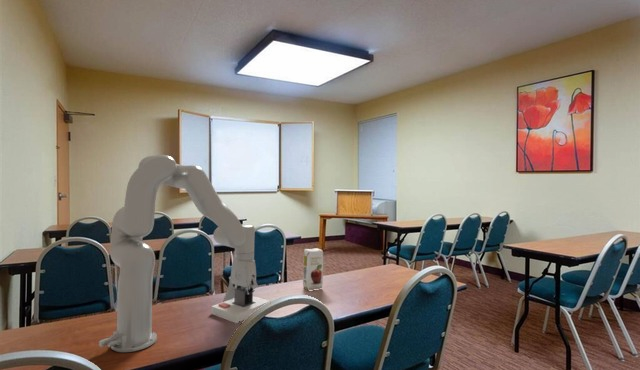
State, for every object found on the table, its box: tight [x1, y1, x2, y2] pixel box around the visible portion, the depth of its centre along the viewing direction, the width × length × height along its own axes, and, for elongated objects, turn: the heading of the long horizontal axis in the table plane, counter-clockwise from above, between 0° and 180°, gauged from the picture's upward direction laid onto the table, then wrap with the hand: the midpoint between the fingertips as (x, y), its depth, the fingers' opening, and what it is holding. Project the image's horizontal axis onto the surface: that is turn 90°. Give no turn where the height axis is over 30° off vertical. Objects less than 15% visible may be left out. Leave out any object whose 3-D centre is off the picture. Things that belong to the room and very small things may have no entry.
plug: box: [234, 287, 254, 307], centre depth 134 cm, size 5×5×8 cm
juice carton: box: [302, 247, 324, 291], centre depth 163 cm, size 8×9×19 cm
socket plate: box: [210, 295, 271, 324], centre depth 133 cm, size 18×14×4 cm
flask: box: [222, 276, 235, 302], centre depth 145 cm, size 7×7×10 cm
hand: (243, 301), depth 134 cm, fingers closed on plug, 4 cm apart
